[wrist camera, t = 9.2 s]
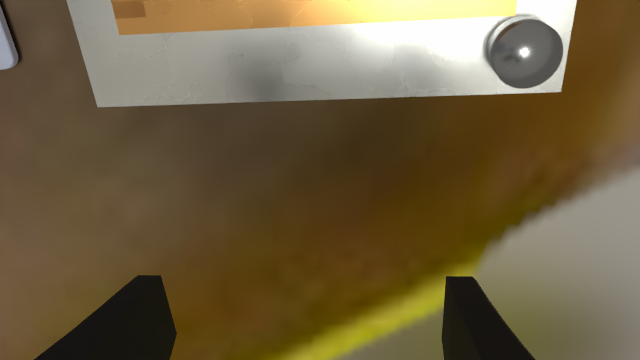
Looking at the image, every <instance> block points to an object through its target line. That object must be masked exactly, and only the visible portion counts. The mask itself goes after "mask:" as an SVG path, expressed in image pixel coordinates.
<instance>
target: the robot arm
mask: <svg viewBox="0 0 640 360" xmlns="http://www.w3.org/2000/svg"><path fill="white" fill-rule="evenodd" d="M17 62H18V54H17V51H16V48H15V45H14V43H13V40H12V37H11V34H10V31H9V28H8V26H7V23H6V20H5V17H4V14H3V11H2V9H1V6H0V70H1V69H9V68H11V67H13V66H15V65H16V64H17ZM176 335H177V333H176V329H175V326H174V322H173V318H172V315H171V311H170V308H169V304H168V300H167V297H166V293H165V289H164V286H163V282H162V278H161V276H149V275H138V276H137V277H136V278H134V279H133V280H132V281H130V282H129V283H128V284H127V285H126V286H124V287H123V288H122V289H121V290H120V291H118V292H117V293H116V294H115V295H114V296H112V297H111V298H110V299H109V300H108V301H107V302H105V303H104V304H103V305H102V306H101V307H99V308H98V309H97V310H96V311H95V312H93V313H92V314H91V315H90V316H89V317H87V318H86V319H85V320H84V321H83V322H81V323H80V324H79V325H78V326H77V327H75V328H74V329H73V330H72V331H71V332H69V333H68V334H67V335H65V336H64V337H63V338H61V339H60V340H59V341H58V342H56V343H55V344H54V345H52V346H51V347H50V348H49V349H47V350H46V351H45V352H43V353H42V354H41V355H39V356H38V357H37V358H36V359H34V360H169V359H170V356H171V353H172V349H173V346H174V342H175V338H176ZM442 344H443V353H444V360H535V359H534V357H533V356H532V355H531V354H530V353H529V352H528V350H527V349H526V348H525V347H524V346H523V344H522V343H521V342H520V341H519V339H518V338H517V337H516V336H515V334H514V333H513V332H512V331H511V329H510V328H509V327H508V325H507V324H506V323H505V321H504V320H503V319H502V317H501V316H500V315H499V314H498V312H497V311H496V309H495V308H494V306H493V305H492V304H491V302H490V301H489V299H488V298H487V296H486V295H485V293H484V292H483V291H482V289H481V287H480V286H479V285H478V283H477V281H476V280H475V279H474V278H473V277H453V276H446V286H445V300H444V315H443V328H442Z"/></svg>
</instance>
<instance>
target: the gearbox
mask: <svg viewBox="0 0 640 360" xmlns="http://www.w3.org/2000/svg"><path fill="white" fill-rule="evenodd" d="M576 1H577V0H67V4H68V7H69V11H70V14H71V17H72V21H73V24H74V28H75V31H76V35H77V38H78V41H79V45H80V48H81V52H82V55H83V59H84V62H85V65H86V69H87V72H88V76H89V79H90V83H91V86H92V89H93V93H94V96H95V100H96V103H97V107H121V106H151V105H181V104H212V103H242V102H272V101H302V100H332V99H362V98H392V97H423V96H453V95H483V94H513V93H543V92H561V88H562V82H563V77H564V71H565V65H566V59H567V53H568V48H569V42H570V36H571V30H572V24H573V19H574V13H575V7H576Z"/></svg>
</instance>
